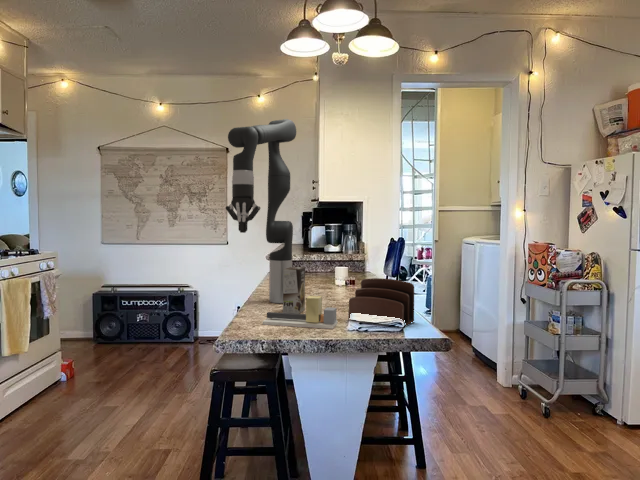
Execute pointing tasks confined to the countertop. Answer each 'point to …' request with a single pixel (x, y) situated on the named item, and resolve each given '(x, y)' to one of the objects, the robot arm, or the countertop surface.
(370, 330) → the countertop surface
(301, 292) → the coffee box
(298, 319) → the white base plate
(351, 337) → the countertop surface
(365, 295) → the letter holder
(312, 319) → the sleeve
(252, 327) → the countertop surface
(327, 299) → the countertop surface
